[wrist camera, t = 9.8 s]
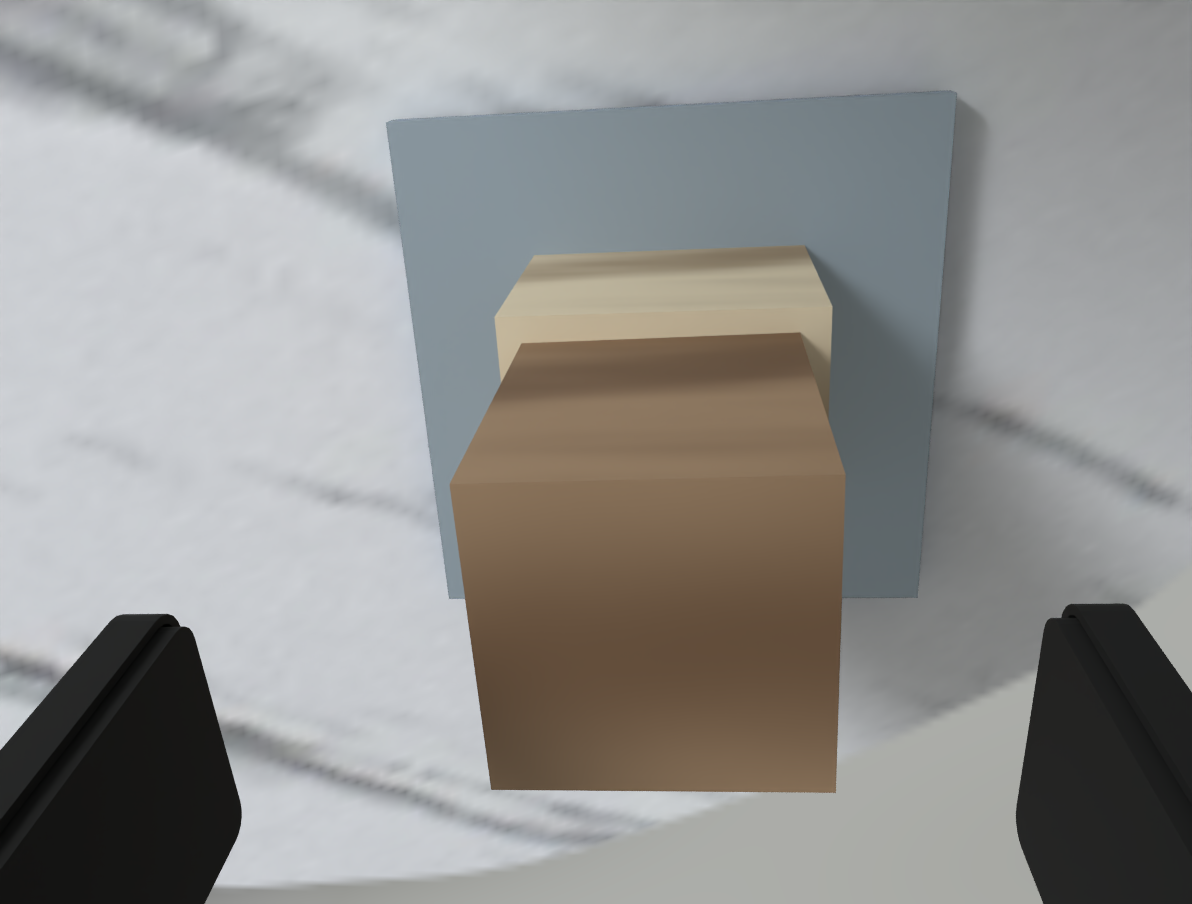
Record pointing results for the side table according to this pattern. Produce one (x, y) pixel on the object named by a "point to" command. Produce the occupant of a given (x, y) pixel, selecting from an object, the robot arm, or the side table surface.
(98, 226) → the side table surface
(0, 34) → the side table surface
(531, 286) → the beech block
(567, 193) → the build plate
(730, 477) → the walnut block
